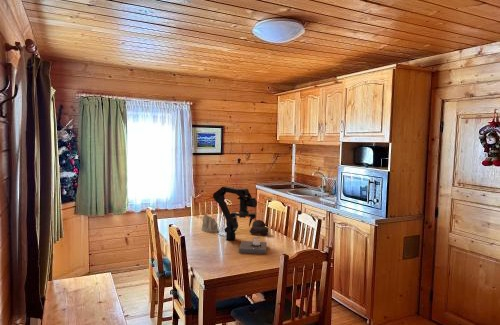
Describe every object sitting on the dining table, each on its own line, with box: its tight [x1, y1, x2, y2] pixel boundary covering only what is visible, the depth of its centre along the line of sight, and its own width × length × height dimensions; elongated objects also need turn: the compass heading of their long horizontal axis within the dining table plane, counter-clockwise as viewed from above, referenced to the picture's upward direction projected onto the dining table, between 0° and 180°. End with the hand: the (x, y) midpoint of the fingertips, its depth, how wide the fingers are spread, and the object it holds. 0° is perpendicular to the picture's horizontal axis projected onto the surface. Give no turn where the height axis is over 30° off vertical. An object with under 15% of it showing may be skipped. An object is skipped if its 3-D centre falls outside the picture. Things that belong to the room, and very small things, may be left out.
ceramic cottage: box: [201, 212, 219, 233], centre depth 292 cm, size 16×16×15 cm
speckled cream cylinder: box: [252, 237, 261, 247], centre depth 242 cm, size 5×5×8 cm
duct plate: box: [238, 240, 268, 255], centre depth 243 cm, size 18×18×3 cm
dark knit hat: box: [249, 219, 269, 236], centre depth 284 cm, size 10×15×15 cm
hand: (243, 226), depth 258 cm, fingers open, 9 cm apart
